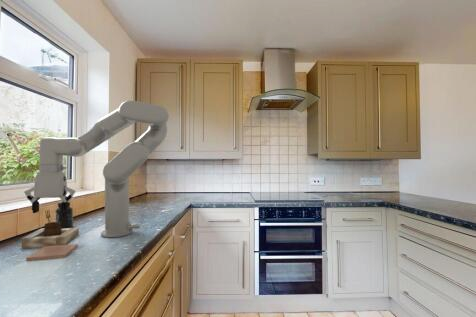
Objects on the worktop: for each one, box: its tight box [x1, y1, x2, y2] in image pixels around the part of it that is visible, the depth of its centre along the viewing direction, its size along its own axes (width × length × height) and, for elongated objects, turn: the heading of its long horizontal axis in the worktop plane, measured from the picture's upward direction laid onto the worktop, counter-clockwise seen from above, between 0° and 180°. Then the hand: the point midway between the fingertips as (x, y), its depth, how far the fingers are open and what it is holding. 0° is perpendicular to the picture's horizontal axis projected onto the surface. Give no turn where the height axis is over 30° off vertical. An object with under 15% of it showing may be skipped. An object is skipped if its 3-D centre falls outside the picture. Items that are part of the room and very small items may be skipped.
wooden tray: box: [21, 227, 80, 249], centre depth 103 cm, size 14×14×4 cm
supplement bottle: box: [55, 201, 74, 229], centre depth 123 cm, size 7×7×12 cm
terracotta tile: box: [25, 243, 79, 262], centre depth 89 cm, size 11×11×1 cm
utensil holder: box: [43, 209, 62, 236], centre depth 103 cm, size 6×6×12 cm
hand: (49, 212), depth 102 cm, fingers open, 9 cm apart
